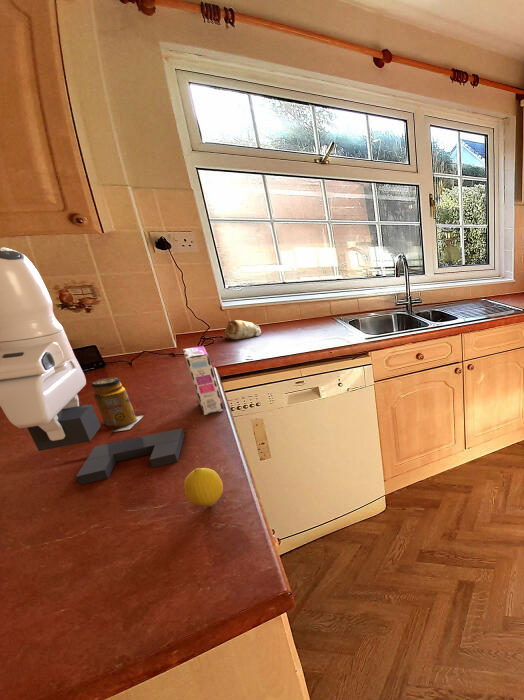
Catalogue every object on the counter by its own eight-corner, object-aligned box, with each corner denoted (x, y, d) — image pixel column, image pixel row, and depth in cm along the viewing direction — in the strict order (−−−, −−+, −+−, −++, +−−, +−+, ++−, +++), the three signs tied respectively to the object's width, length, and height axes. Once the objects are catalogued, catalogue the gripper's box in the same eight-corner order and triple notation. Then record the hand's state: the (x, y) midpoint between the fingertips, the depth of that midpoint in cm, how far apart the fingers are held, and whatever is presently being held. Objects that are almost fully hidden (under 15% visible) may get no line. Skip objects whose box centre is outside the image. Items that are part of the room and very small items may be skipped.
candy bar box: (226, 410, 116) (208, 354, 110) (204, 416, 113) (185, 358, 107) (220, 398, 124) (203, 344, 117) (199, 403, 121) (181, 348, 115)
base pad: (79, 485, 84) (75, 476, 84) (98, 453, 96) (95, 446, 95) (177, 461, 92) (174, 453, 91) (184, 435, 103) (182, 428, 102)
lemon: (186, 508, 77) (172, 471, 74) (219, 492, 81) (207, 457, 78) (200, 519, 74) (186, 481, 71) (233, 502, 78) (221, 465, 75)
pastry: (218, 340, 183) (213, 322, 180) (237, 332, 194) (232, 315, 191) (250, 340, 182) (245, 322, 179) (267, 332, 194) (262, 315, 191)
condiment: (144, 416, 114) (128, 374, 109) (130, 429, 106) (112, 385, 102) (110, 420, 111) (92, 378, 107) (94, 435, 104) (74, 390, 99)
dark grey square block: (38, 451, 69) (26, 427, 68) (53, 435, 75) (42, 412, 73) (90, 441, 72) (79, 417, 71) (100, 426, 77) (91, 404, 76)
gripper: (32, 340, 74) (64, 410, 80) (-30, 374, 58) (15, 461, 63) (80, 335, 77) (107, 403, 83) (34, 366, 61) (72, 449, 66)
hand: (67, 428), depth 73 cm, fingers closed on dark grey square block, 6 cm apart
